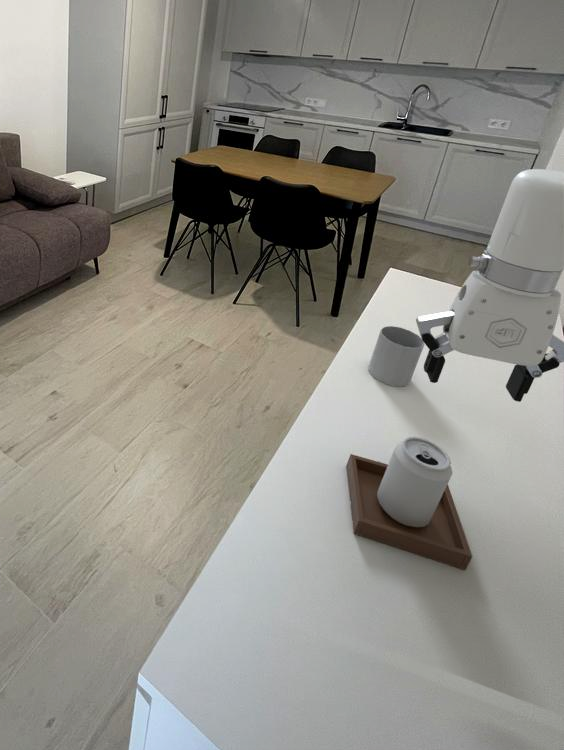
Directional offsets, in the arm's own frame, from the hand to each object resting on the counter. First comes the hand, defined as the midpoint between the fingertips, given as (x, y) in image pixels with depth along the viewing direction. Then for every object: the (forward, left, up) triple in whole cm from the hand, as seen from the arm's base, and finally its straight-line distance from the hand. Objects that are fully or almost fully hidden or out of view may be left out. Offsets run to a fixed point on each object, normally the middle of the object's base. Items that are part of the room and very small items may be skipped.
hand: (470, 385), depth 67 cm
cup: (-2, -39, -25) cm, 46 cm away
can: (+2, 0, -24) cm, 25 cm away
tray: (+2, 0, -25) cm, 25 cm away
